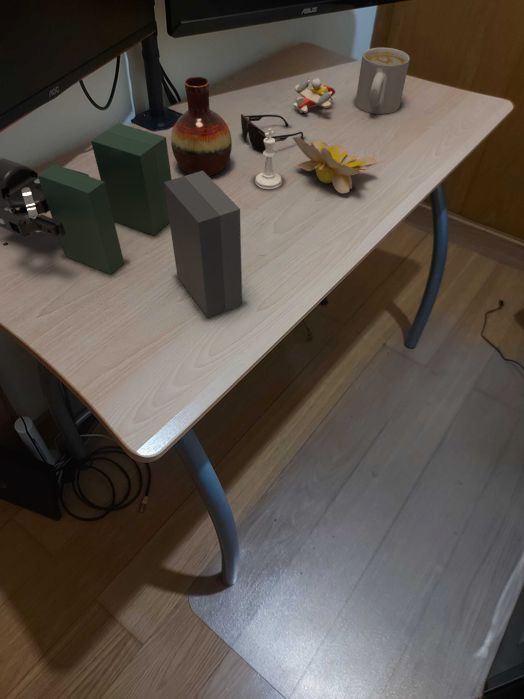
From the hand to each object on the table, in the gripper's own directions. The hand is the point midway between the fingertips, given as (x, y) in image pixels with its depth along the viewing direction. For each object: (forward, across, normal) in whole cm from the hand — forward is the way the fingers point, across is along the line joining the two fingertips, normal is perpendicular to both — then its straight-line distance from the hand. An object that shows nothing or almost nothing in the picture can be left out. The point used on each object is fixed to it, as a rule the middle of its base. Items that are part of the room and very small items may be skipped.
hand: (83, 214), depth 74 cm
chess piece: (+13, +33, +9) cm, 36 cm away
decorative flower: (+23, +40, +9) cm, 47 cm away
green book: (0, 0, +8) cm, 8 cm away
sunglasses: (+6, +48, +9) cm, 49 cm away
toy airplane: (+8, +64, +9) cm, 65 cm away
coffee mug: (+19, +72, +9) cm, 75 cm away
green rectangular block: (0, +12, +8) cm, 15 cm away
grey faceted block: (+19, +3, +8) cm, 21 cm away
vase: (-1, +32, +9) cm, 33 cm away
